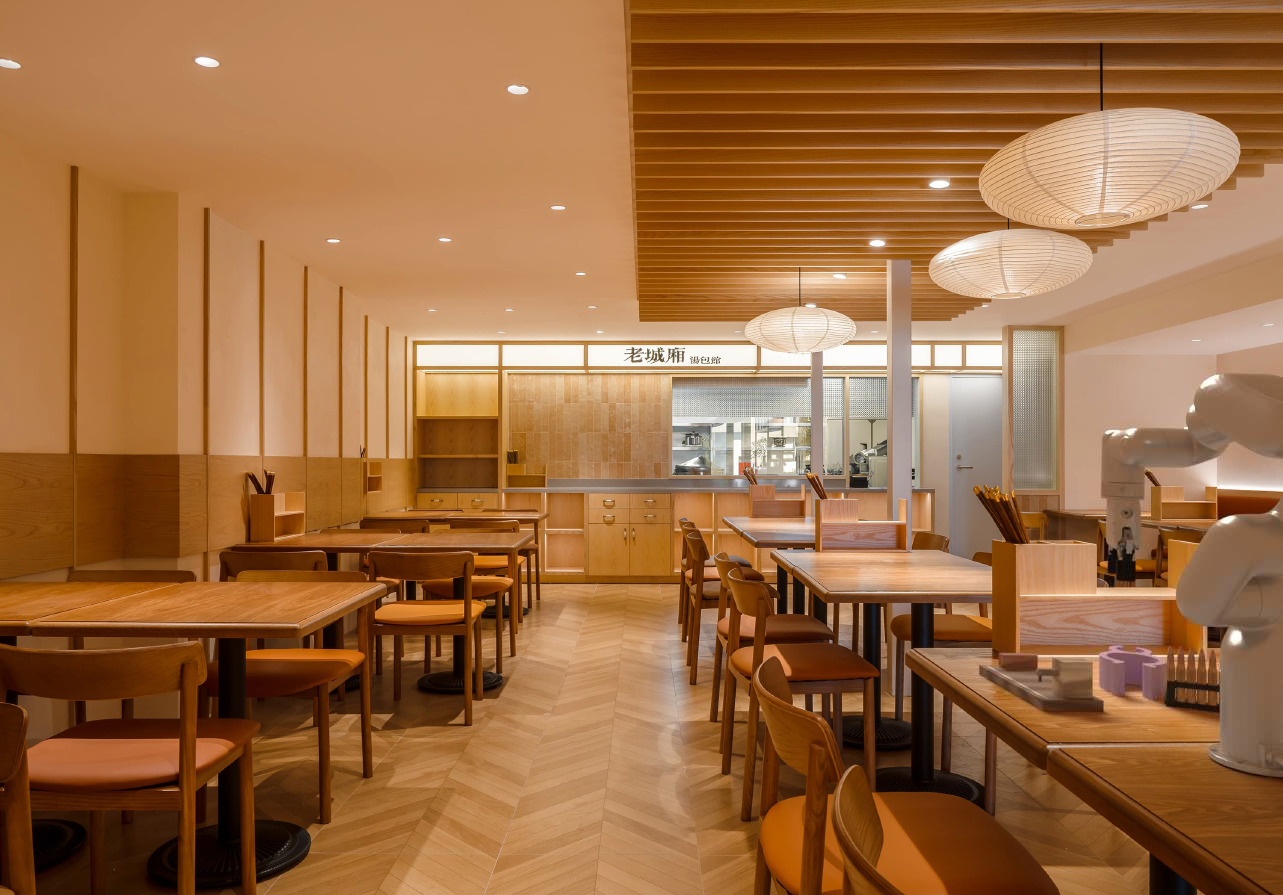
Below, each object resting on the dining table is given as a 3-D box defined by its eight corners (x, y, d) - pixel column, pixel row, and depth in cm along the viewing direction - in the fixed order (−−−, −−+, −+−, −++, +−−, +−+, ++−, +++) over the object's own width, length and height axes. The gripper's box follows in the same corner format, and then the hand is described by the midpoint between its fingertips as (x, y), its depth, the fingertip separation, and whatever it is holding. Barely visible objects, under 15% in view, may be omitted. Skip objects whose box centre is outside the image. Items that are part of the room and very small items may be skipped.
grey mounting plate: (1103, 711, 160) (1103, 685, 160) (1043, 710, 159) (1043, 684, 159) (1030, 674, 188) (1030, 652, 188) (979, 673, 187) (979, 651, 187)
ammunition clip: (1165, 706, 164) (1165, 645, 164) (1164, 703, 165) (1164, 644, 166) (1230, 713, 159) (1230, 651, 159) (1228, 711, 161) (1228, 649, 161)
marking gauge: (1092, 697, 162) (1092, 662, 162) (1042, 697, 161) (1042, 661, 162) (1081, 692, 166) (1081, 657, 166) (1032, 691, 165) (1032, 657, 166)
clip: (1098, 673, 190) (1098, 643, 190) (1161, 680, 184) (1161, 649, 184) (1099, 694, 172) (1099, 661, 173) (1169, 703, 167) (1169, 668, 167)
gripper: (1154, 494, 154) (1152, 585, 154) (1135, 490, 170) (1133, 572, 170) (1108, 493, 157) (1107, 582, 157) (1094, 489, 173) (1092, 570, 173)
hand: (1120, 577), depth 163 cm, fingers open, 9 cm apart
